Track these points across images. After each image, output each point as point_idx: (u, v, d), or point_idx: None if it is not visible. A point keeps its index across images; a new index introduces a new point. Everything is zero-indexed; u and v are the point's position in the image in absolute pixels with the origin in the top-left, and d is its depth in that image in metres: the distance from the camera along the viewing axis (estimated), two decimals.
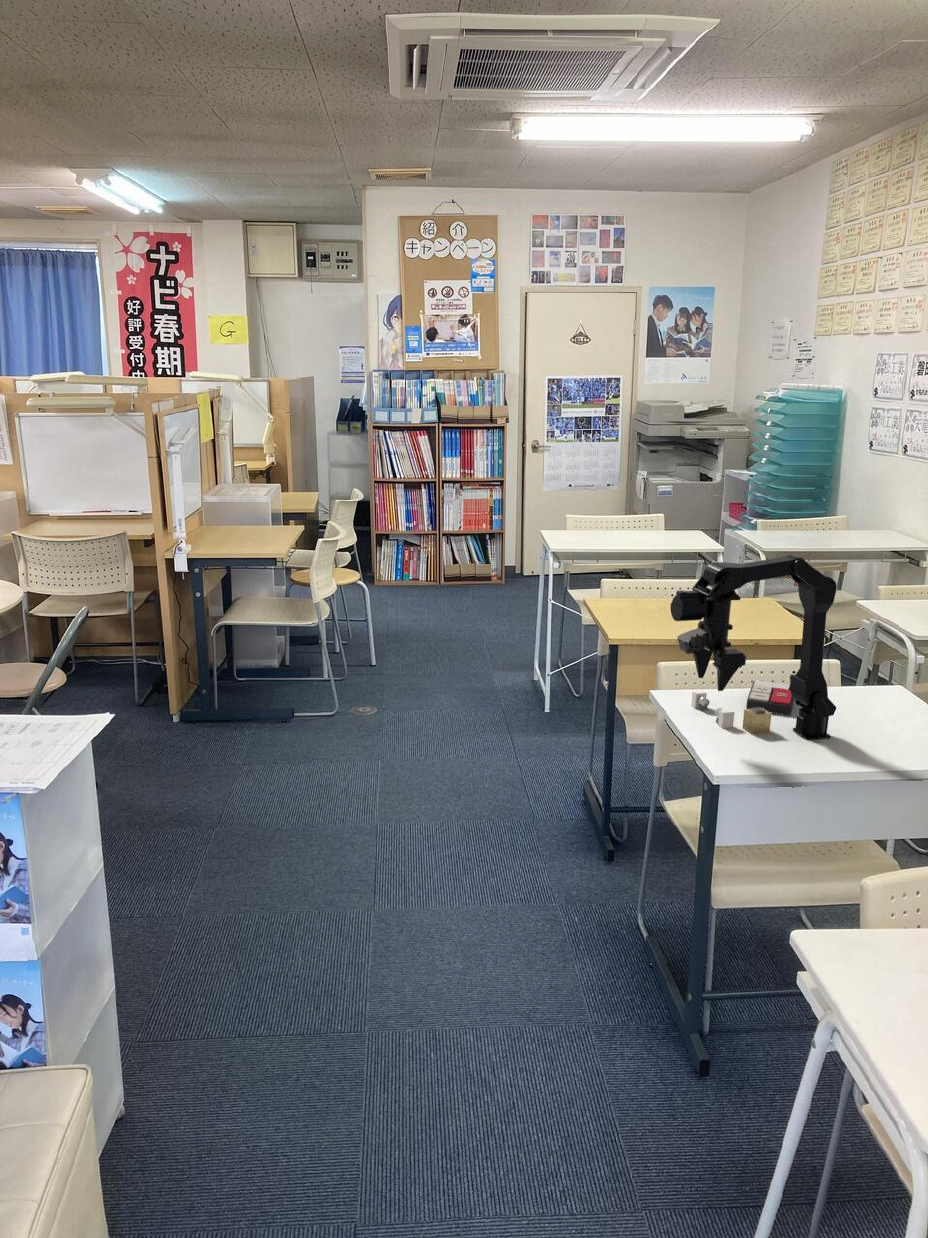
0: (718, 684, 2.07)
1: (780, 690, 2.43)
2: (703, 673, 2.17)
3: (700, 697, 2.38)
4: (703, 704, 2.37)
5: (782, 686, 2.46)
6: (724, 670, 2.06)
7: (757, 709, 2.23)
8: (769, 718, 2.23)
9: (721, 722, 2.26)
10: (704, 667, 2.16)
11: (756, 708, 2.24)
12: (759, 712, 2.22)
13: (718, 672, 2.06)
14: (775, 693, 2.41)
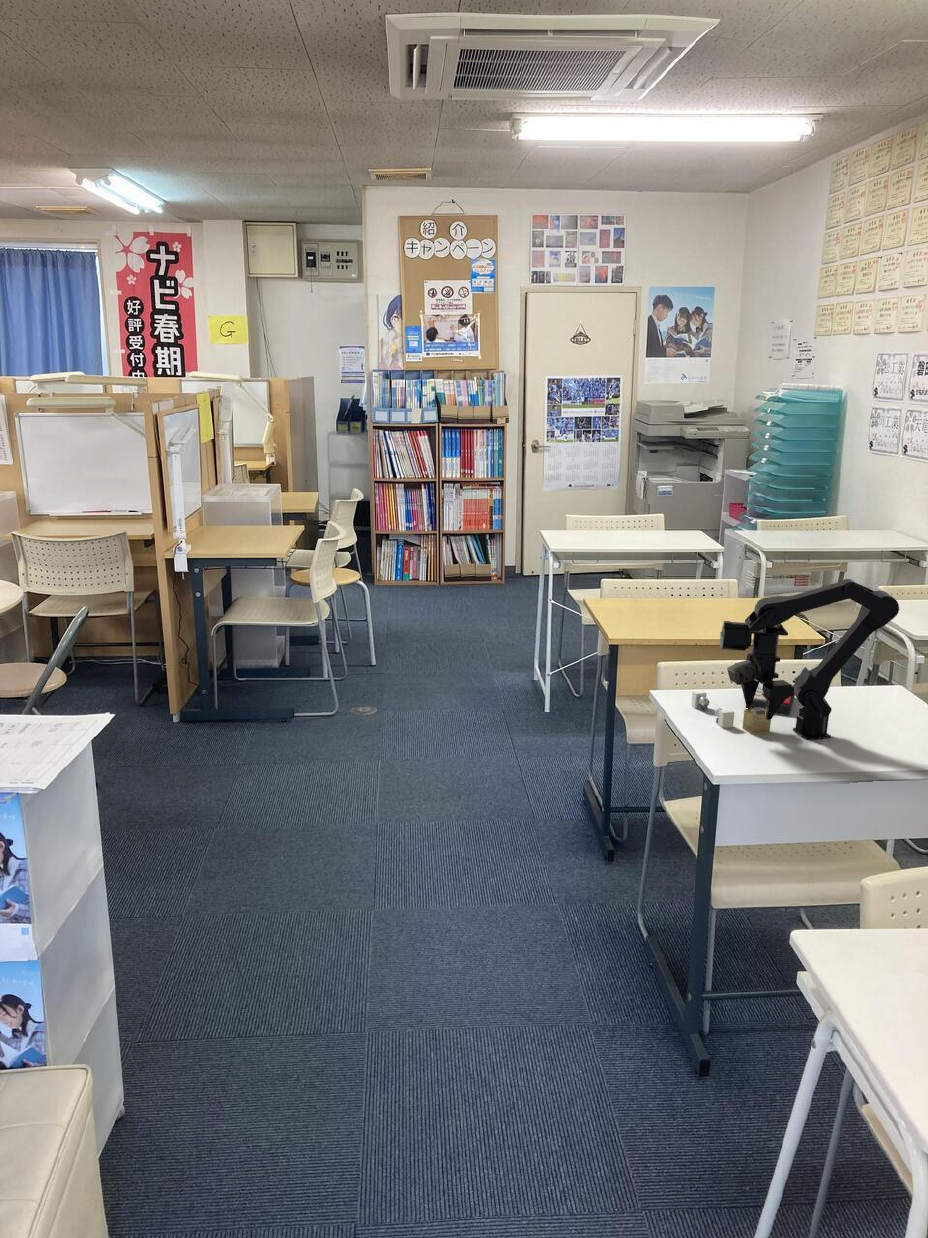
0: (767, 713, 2.19)
1: None
2: (750, 702, 2.28)
3: (700, 697, 2.38)
4: (703, 704, 2.37)
5: None
6: (773, 700, 2.17)
7: (757, 709, 2.23)
8: None
9: (721, 722, 2.26)
10: (752, 696, 2.28)
11: (756, 708, 2.24)
12: (759, 712, 2.22)
13: (767, 702, 2.17)
14: None
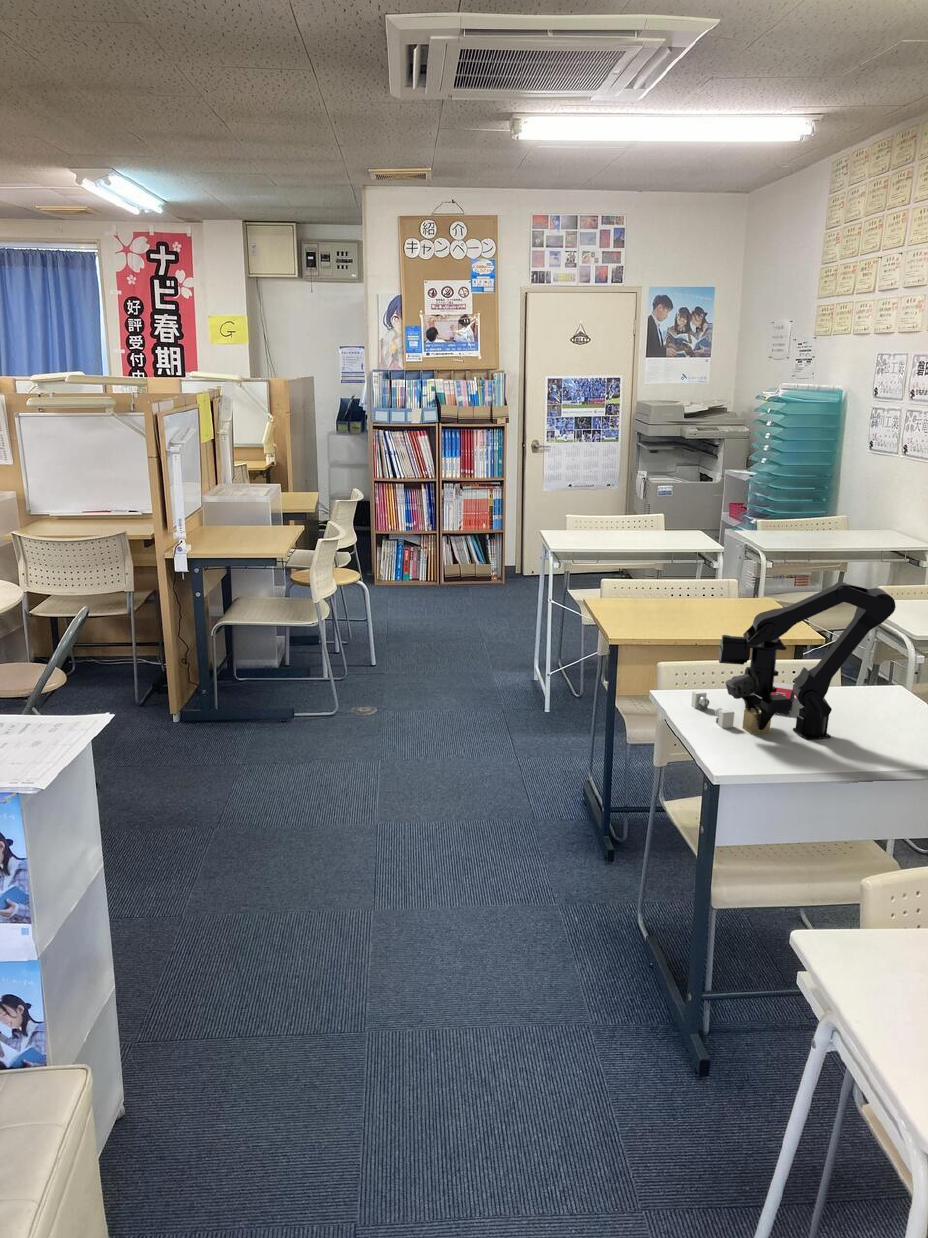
0: (759, 724, 2.22)
1: (779, 690, 2.44)
2: None
3: (700, 697, 2.38)
4: (703, 704, 2.37)
5: (782, 686, 2.47)
6: (765, 711, 2.20)
7: (757, 709, 2.23)
8: None
9: (721, 722, 2.26)
10: None
11: (756, 708, 2.24)
12: None
13: (759, 713, 2.20)
14: (774, 693, 2.42)
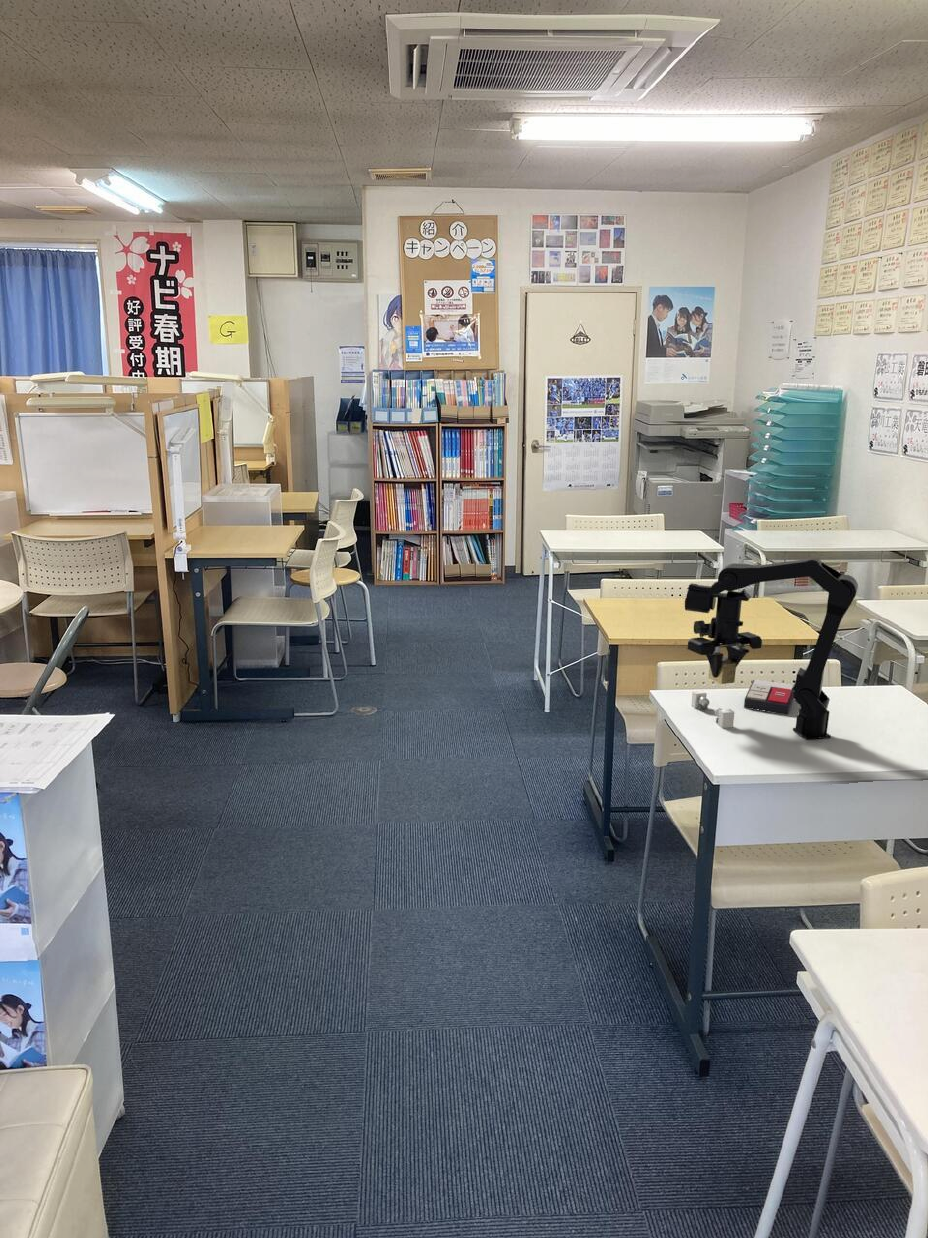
0: None
1: (779, 689, 2.44)
2: None
3: (700, 697, 2.38)
4: (703, 704, 2.37)
5: (781, 685, 2.47)
6: (712, 657, 2.27)
7: (722, 658, 2.29)
8: (722, 669, 2.26)
9: (721, 722, 2.26)
10: None
11: (724, 658, 2.29)
12: None
13: None
14: (773, 692, 2.42)
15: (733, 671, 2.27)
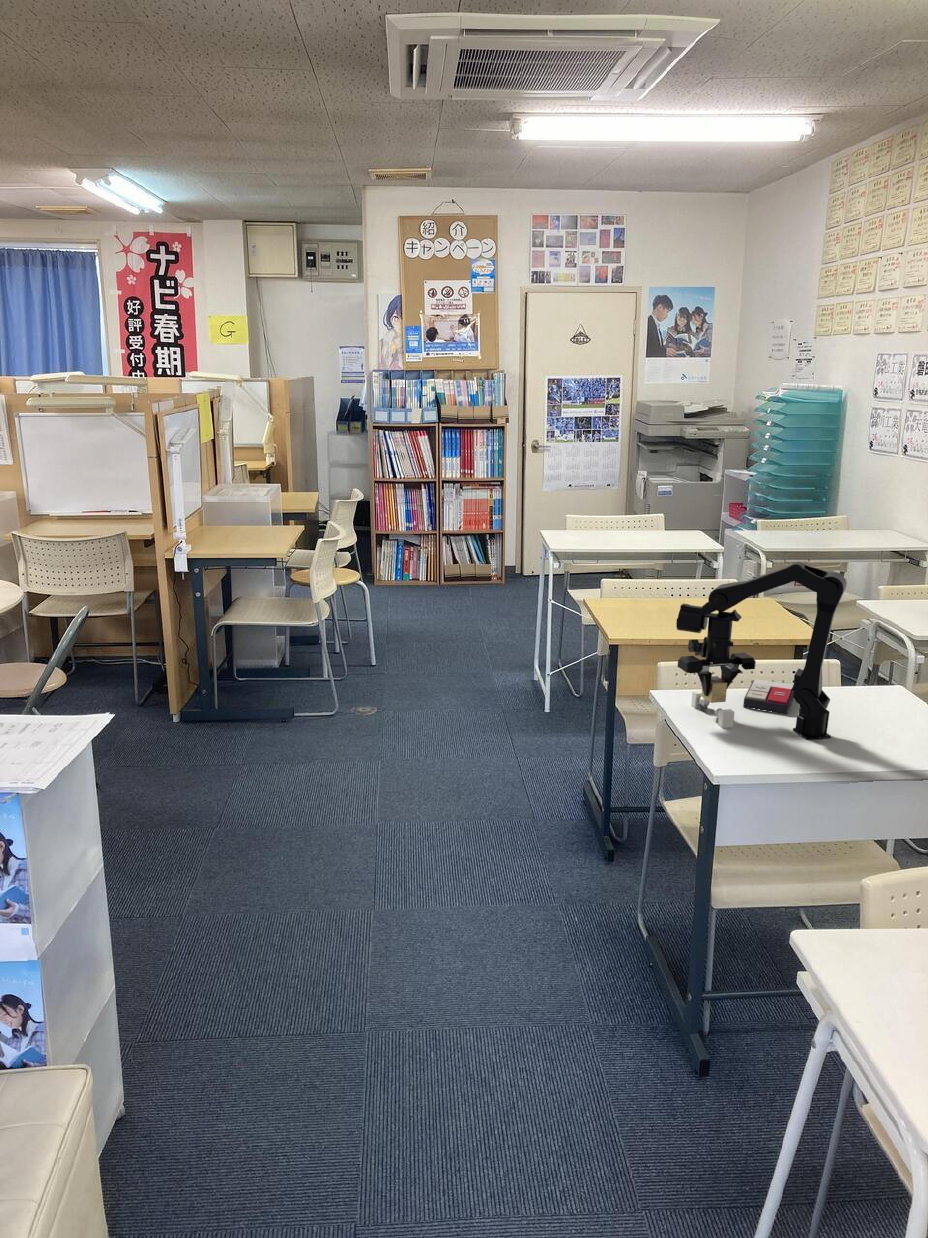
0: None
1: (778, 689, 2.44)
2: None
3: (700, 697, 2.38)
4: (703, 704, 2.37)
5: (781, 685, 2.47)
6: (703, 676, 2.30)
7: (714, 677, 2.31)
8: (711, 687, 2.29)
9: (721, 722, 2.26)
10: None
11: (716, 677, 2.31)
12: None
13: None
14: (773, 692, 2.42)
15: (724, 690, 2.30)
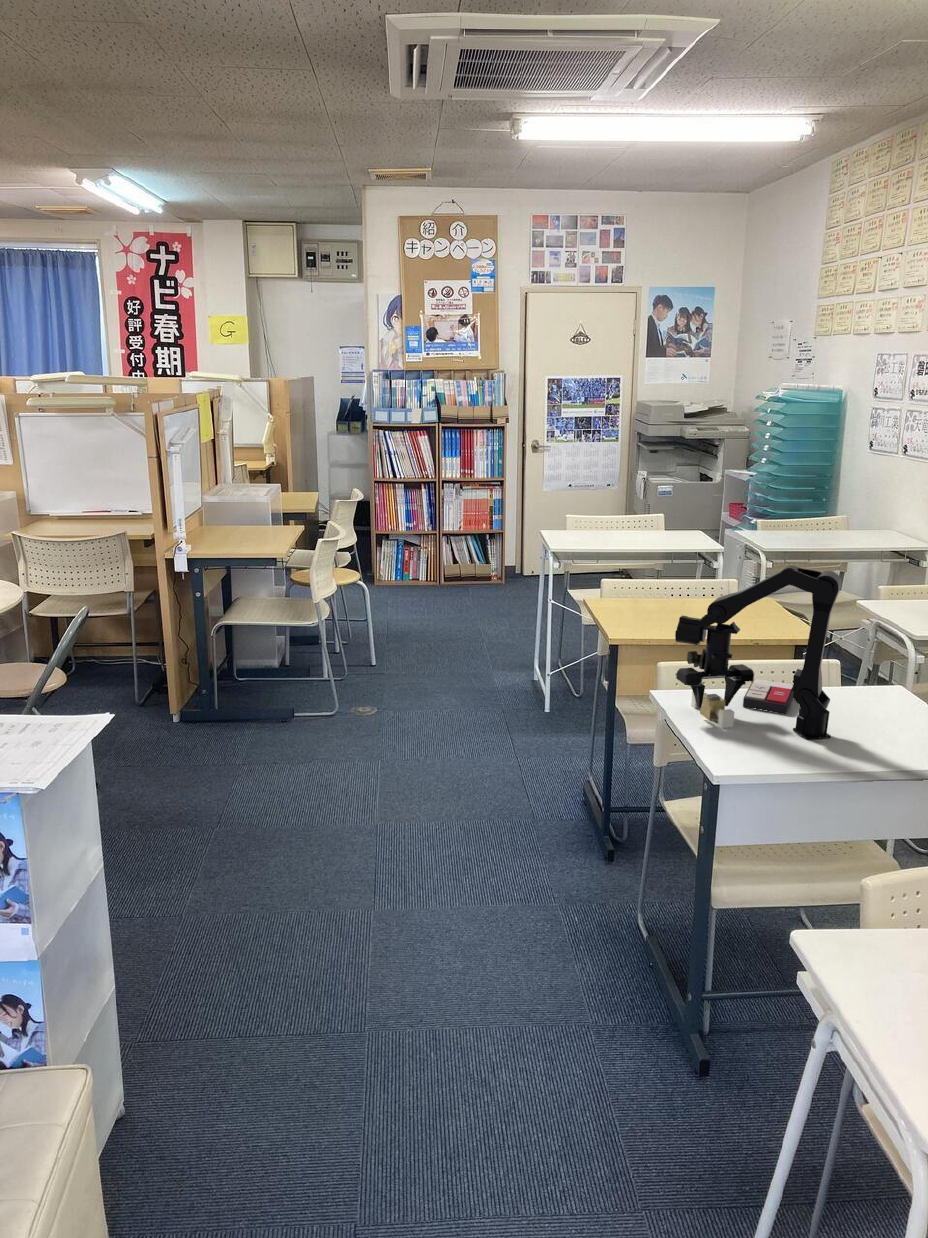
0: None
1: (778, 689, 2.44)
2: (726, 702, 2.33)
3: None
4: None
5: (781, 685, 2.47)
6: (696, 688, 2.31)
7: (712, 695, 2.33)
8: (709, 705, 2.30)
9: (721, 722, 2.26)
10: (728, 697, 2.33)
11: (715, 695, 2.33)
12: (708, 696, 2.33)
13: None
14: (772, 692, 2.42)
15: (722, 708, 2.31)
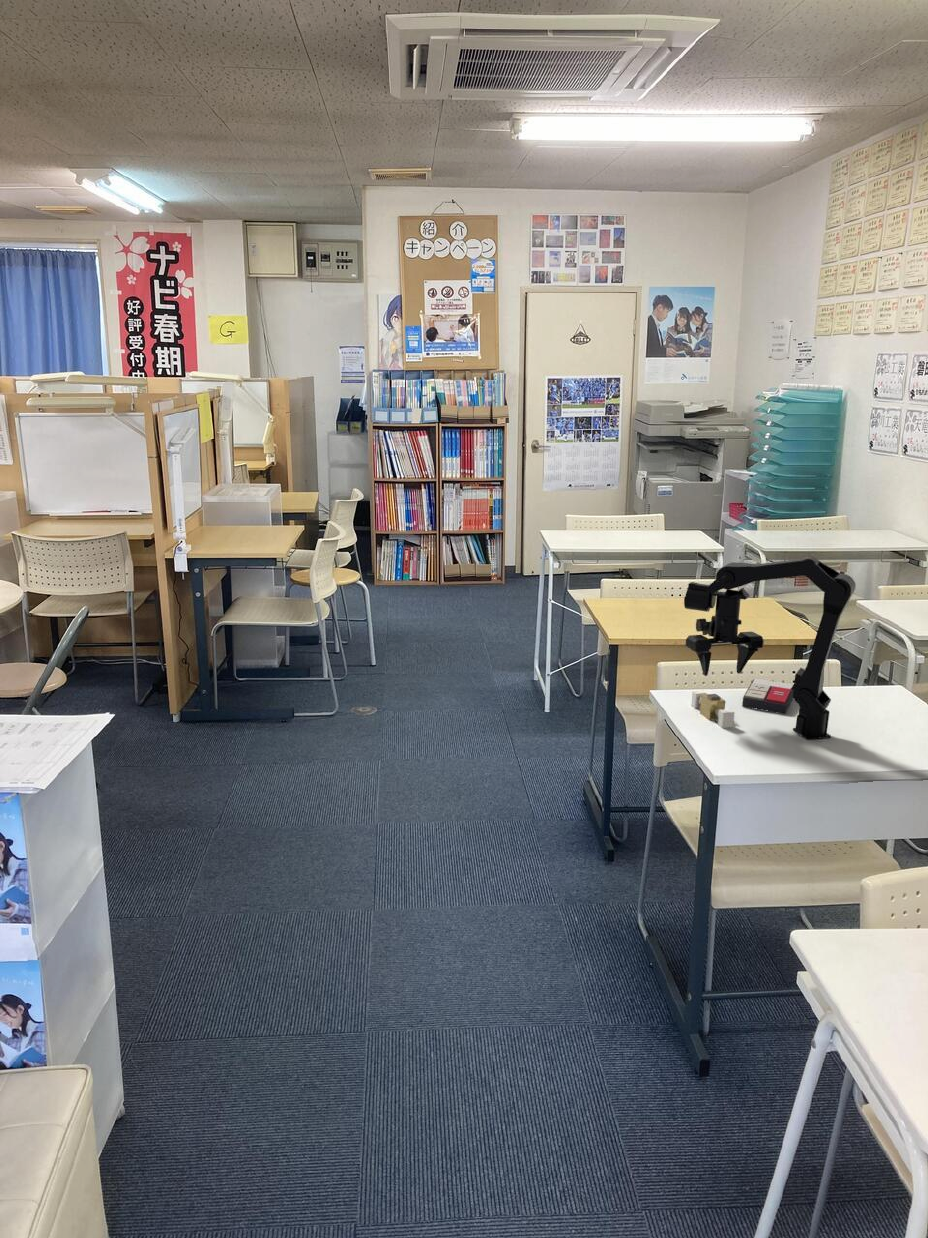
0: None
1: (778, 689, 2.44)
2: (739, 669, 2.32)
3: (700, 697, 2.38)
4: None
5: (781, 685, 2.47)
6: (702, 655, 2.29)
7: (712, 695, 2.33)
8: (709, 705, 2.30)
9: (721, 722, 2.26)
10: (740, 664, 2.31)
11: (715, 695, 2.33)
12: (708, 696, 2.33)
13: None
14: (772, 691, 2.42)
15: (722, 708, 2.31)
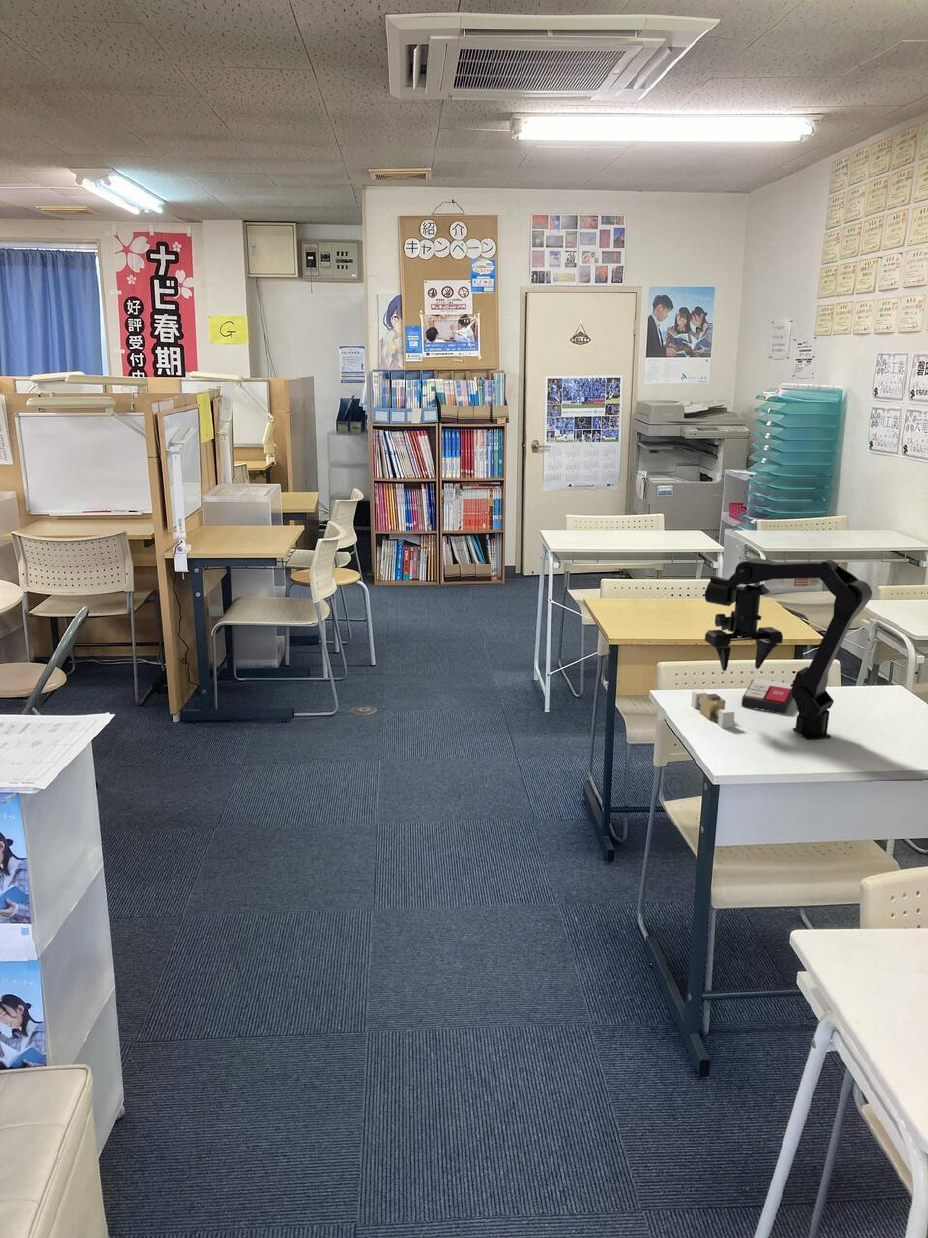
0: None
1: (777, 688, 2.44)
2: (757, 664, 2.33)
3: (700, 697, 2.38)
4: None
5: (781, 685, 2.48)
6: (721, 650, 2.30)
7: (712, 695, 2.33)
8: (710, 705, 2.30)
9: (721, 722, 2.26)
10: (759, 659, 2.32)
11: (715, 695, 2.33)
12: (708, 696, 2.33)
13: None
14: (772, 691, 2.43)
15: (722, 708, 2.31)
